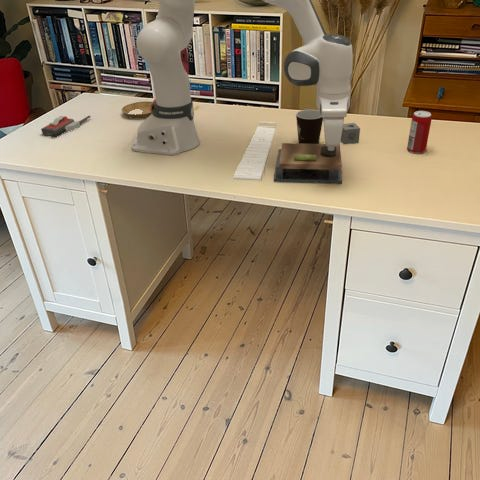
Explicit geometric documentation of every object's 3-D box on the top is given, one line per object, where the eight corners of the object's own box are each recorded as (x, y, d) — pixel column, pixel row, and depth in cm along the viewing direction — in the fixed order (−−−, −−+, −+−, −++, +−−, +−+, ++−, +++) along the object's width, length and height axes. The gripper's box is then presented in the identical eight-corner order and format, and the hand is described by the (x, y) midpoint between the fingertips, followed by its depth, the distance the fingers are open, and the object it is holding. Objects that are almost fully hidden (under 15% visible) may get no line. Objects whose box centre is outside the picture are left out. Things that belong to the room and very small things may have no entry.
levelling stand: (273, 182, 139) (273, 169, 137) (277, 159, 151) (277, 147, 149) (342, 183, 137) (343, 170, 134) (340, 160, 149) (341, 148, 147)
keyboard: (257, 123, 178) (257, 119, 177) (279, 124, 177) (279, 119, 176) (233, 180, 142) (233, 175, 141) (260, 182, 140) (260, 177, 140)
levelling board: (279, 168, 137) (279, 158, 135) (282, 147, 148) (282, 138, 147) (341, 169, 135) (342, 159, 133) (339, 148, 146) (340, 139, 145)
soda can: (429, 150, 152) (436, 113, 146) (418, 155, 150) (425, 117, 143) (414, 145, 156) (420, 108, 149) (403, 150, 153) (409, 112, 147)
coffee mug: (321, 150, 156) (322, 119, 150) (293, 148, 157) (294, 118, 152) (323, 135, 165) (325, 106, 159) (297, 134, 167) (298, 105, 161)
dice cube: (358, 143, 159) (360, 128, 156) (343, 144, 159) (345, 129, 156) (353, 137, 163) (354, 122, 161) (338, 138, 163) (339, 124, 160)
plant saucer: (123, 123, 183) (122, 116, 181) (121, 110, 195) (120, 103, 193) (163, 118, 185) (162, 111, 184) (159, 105, 197) (158, 99, 196)
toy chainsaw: (59, 140, 171) (93, 120, 187) (56, 128, 169) (90, 108, 184) (39, 137, 174) (74, 118, 189) (35, 125, 172) (71, 106, 187)
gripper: (321, 88, 140) (319, 134, 148) (321, 113, 124) (319, 163, 131) (343, 88, 140) (340, 134, 147) (347, 113, 123) (343, 164, 130)
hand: (330, 148), depth 139 cm, fingers closed, pressing on levelling board
